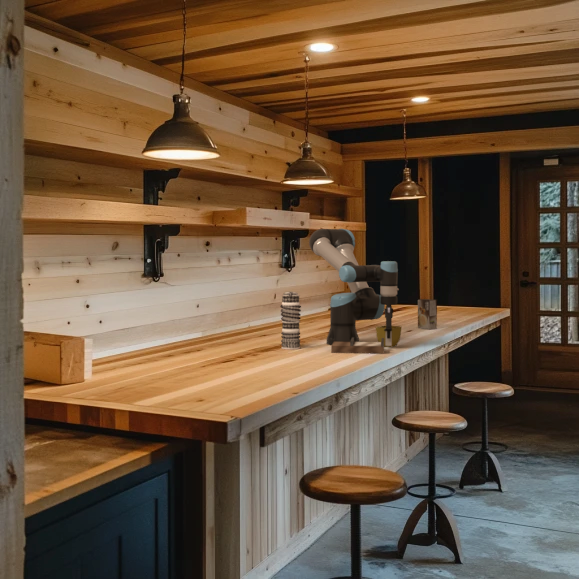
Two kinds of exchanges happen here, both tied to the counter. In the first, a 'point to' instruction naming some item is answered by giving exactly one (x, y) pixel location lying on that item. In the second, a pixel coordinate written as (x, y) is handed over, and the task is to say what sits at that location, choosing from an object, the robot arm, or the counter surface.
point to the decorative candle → (290, 320)
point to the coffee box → (427, 314)
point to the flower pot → (395, 334)
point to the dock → (358, 347)
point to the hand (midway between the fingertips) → (388, 344)
